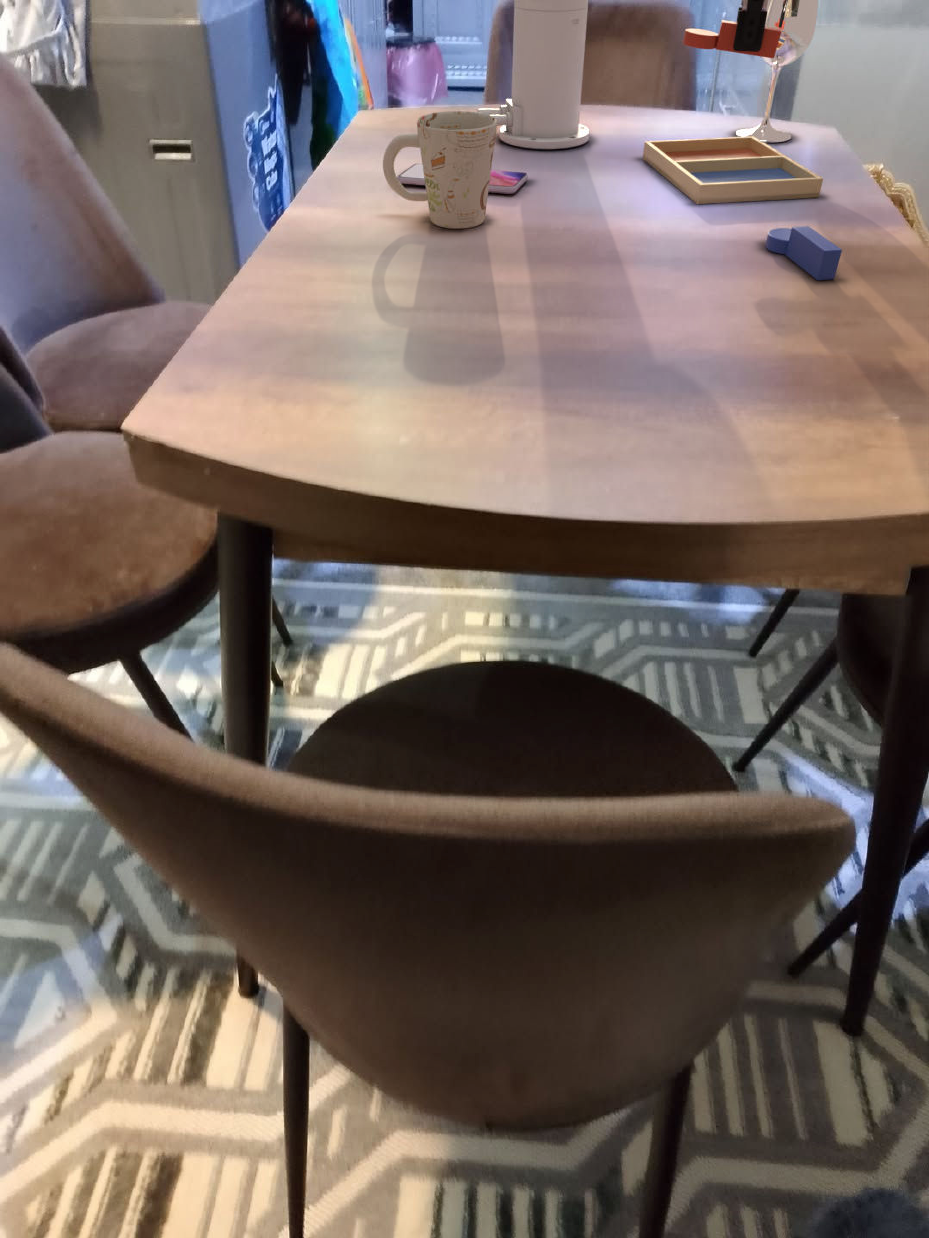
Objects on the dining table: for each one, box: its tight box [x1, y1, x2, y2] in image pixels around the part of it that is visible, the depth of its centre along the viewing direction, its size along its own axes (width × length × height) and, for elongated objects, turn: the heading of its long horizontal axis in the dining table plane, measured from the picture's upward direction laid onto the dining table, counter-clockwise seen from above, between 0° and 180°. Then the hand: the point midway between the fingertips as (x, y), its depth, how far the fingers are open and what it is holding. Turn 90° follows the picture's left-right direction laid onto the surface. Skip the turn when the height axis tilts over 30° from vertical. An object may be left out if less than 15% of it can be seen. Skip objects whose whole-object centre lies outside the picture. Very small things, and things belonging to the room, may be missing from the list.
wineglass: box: [735, 0, 819, 144], centre depth 122 cm, size 8×8×20 cm
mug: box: [382, 110, 498, 230], centre depth 98 cm, size 8×13×10 cm, turn 78°
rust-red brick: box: [682, 19, 781, 58], centre depth 109 cm, size 11×4×3 cm, turn 78°
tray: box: [642, 136, 824, 205], centre depth 113 cm, size 15×20×2 cm
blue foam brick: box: [764, 225, 843, 281], centre depth 91 cm, size 11×4×3 cm, turn 10°
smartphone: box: [396, 163, 529, 195], centre depth 111 cm, size 7×1×15 cm
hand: (746, 48), depth 109 cm, fingers closed on rust-red brick
